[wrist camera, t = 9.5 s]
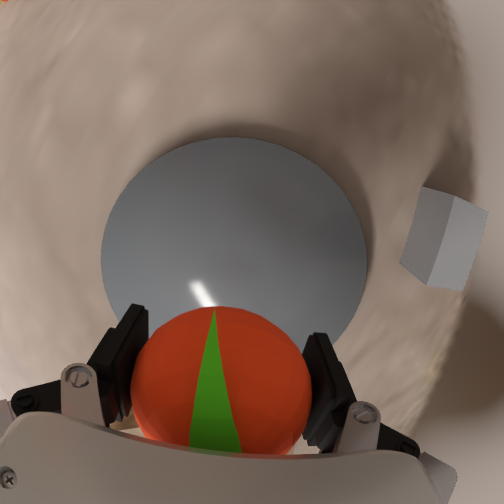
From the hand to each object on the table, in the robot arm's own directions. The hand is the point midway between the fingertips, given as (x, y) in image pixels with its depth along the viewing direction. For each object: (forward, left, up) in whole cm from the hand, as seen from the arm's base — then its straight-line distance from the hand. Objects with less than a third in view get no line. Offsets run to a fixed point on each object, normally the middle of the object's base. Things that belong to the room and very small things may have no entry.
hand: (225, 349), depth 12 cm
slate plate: (0, 0, -8) cm, 8 cm away
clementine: (0, 0, -2) cm, 2 cm away
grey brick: (-14, -6, -8) cm, 17 cm away
